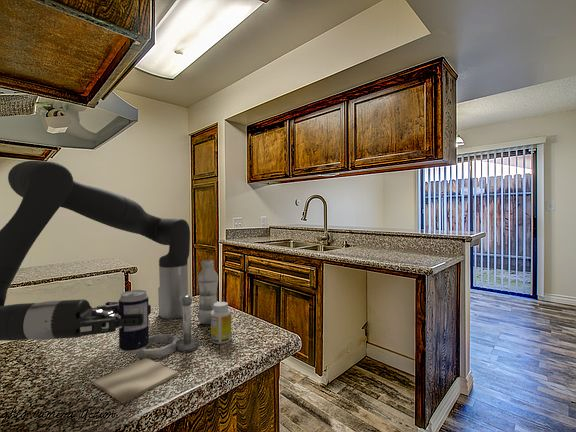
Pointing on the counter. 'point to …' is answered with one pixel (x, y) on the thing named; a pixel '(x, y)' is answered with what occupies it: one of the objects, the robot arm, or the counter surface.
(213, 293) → the plastic bottle
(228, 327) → the supplement bottle
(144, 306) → the beverage can
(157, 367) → the birch board
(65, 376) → the counter surface
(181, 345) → the steel ring stand
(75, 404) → the counter surface
